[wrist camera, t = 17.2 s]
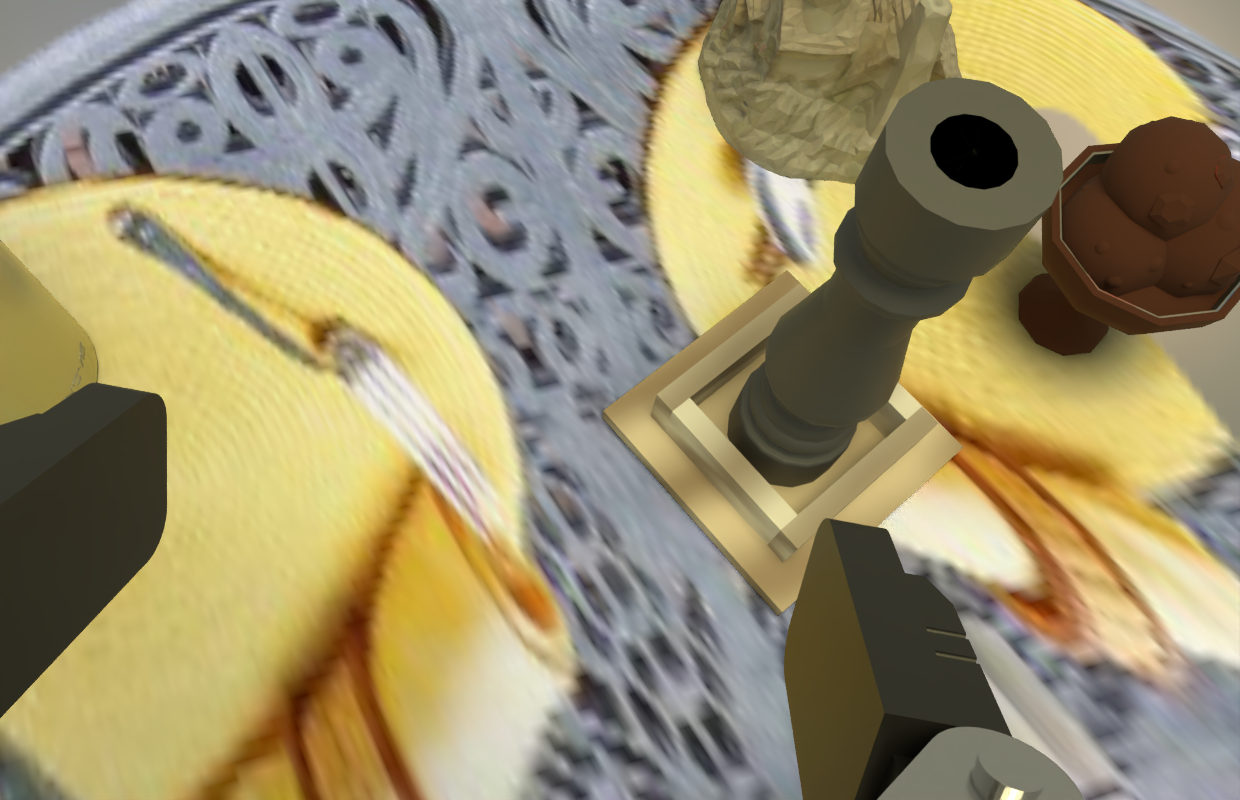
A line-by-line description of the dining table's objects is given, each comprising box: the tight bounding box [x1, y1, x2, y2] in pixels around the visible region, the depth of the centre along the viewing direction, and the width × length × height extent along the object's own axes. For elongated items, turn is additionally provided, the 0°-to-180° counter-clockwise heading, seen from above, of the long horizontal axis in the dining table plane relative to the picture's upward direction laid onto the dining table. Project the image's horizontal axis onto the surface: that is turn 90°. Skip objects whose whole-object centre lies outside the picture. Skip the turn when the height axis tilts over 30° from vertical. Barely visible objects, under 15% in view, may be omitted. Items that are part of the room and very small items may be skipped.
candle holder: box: [727, 77, 1063, 488], centre depth 42 cm, size 6×6×25 cm
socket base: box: [602, 270, 963, 615], centre depth 53 cm, size 14×14×4 cm
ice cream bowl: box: [1019, 116, 1240, 356], centre depth 52 cm, size 11×11×15 cm
